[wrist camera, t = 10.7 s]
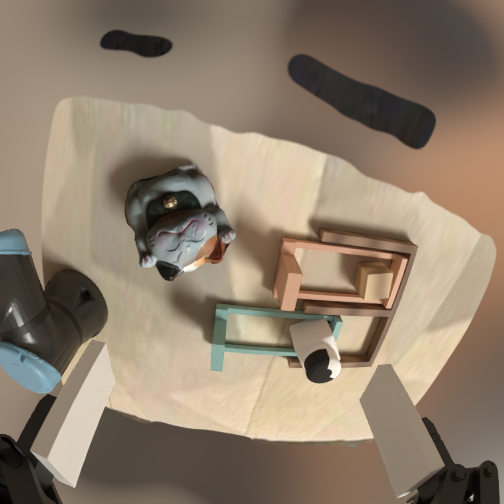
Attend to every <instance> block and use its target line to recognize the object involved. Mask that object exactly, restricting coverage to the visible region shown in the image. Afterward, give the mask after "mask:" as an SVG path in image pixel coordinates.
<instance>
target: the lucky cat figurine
mask: <svg viewBox="0 0 504 504" xmlns="http://www.w3.org/2000/svg"><path fill="white" fill-rule="evenodd" d="M125 217H126V221H127V224H128V225H129V226H130V227H131V228H132V229H133V231H134V232H135V241H136V246H137V249H138V252H139V256H140V262H139V264H140V266H141V267H142V268H144V267H147V268H149V267H155V266H157V269H158V271H159V273H160V274H161V276H162V277H163V278H164V279H165V280H167V281H173V280H174V278H175V277H177V276H179V275H180V274H181V273H183V272H189V271H194V270H195V269H196V268H197V267H199V266H200V265H202V264H204V263H206V262H209V263H212V264H217V263H219V262H221V261H222V260H223V255H224V254H225V251H226V249H227V247H228V246H229V244H230V243H231V241H233V239H234V238H235V237H236V232H235V231H234V230H233V229H232V228H231V226H230V224H229V221H228V220H227V218H226V215H225V213H224V211H223V210H222V209H220V208H219V205H218V203H217V201H216V198H215V192H214V188H213V186H212V184H211V183H210V181H209V180H208V179H207V177H206V176H204V175H201V174H198V173H197V170H196V165H194V164H191V165H181V166H178V167H176V168H175V169H173V170H172V171H170V172H168V173H166V174H163V175H159V176H155V177H151V178H147V179H141V180H139V181H136V182H134V183H133V184H132V185H131V187H130V188H129V190H128V193H127V197H126V202H125Z"/></svg>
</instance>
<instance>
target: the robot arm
mask: <svg viewBox="0 0 504 504" xmlns="http://www.w3.org/2000/svg"><path fill="white" fill-rule="evenodd" d="M31 255H32V254H31V252H30V251H29V248H28V245H27V242H26V239H25V236H24V234H23V233H22V232H21V231H20V230H18V229H10V230H6V231H3V232H0V365H1V367H2V368H3V369H4V370H5V371H6V373H7V374H8V375H9V376H10V377H11V378H13V379H14V380H15V381H16V382H18V383H19V384H20V385H22V386H23V387H25V388H27V389H29V390H31V391H34V392H37V393H48V392H50V391H51V390H52V389H53V388H54V386H55V385H56V383H57V382H58V381H60V380H61V377H62V375H63V374H64V372H65V370H66V369H67V367H68V365H69V364H70V362H71V360H72V359H73V357H74V355H75V354H76V352H77V351H78V349H79V347H80V346H81V344H83V343H85V342H86V341H88V340H89V339H90V338H92V337H95V336H96V335H97V334H99V333H100V331H101V330H102V329H103V327H104V326H105V324H106V321H107V317H108V310H107V305H106V302H105V299H104V297H103V295H102V293H101V292H100V290H99V289H98V288H97V286H96V285H95V284H94V283H93V282H92V281H91V280H90V279H89V278H87V277H86V276H84V275H83V274H81V273H79V272H76V271H73V270H63V271H60V272H58V273H57V274H55V275H54V276H53V277H52V278H51V279H50V280H49V281H48V283H47V285H46V287H45V290H44V291H43V288H42V285H41V283H40V280H39V278H38V275H37V272H36V269H35V266H34V263H33V259H32V256H31ZM114 384H115V380H114V376H113V372H112V368H111V364H110V360H109V355H108V351H107V346H106V343H104V342H99V341H95V340H91V342H90V343H89V345H88V347H87V348H86V350H85V351H84V353H83V354H82V356H81V358H80V359H79V361H78V363H77V364H76V366H75V368H74V369H73V371H72V373H71V374H70V376H69V378H68V379H67V381H66V383H65V384H64V386H63V388H62V390H61V391H60V394H59V395H58V397H55V396H52V395H50V394H47V395H46V396H45V397H43V398H42V399H41V400H40V401H39V403H38V404H37V406H36V408H35V411H33V413H32V415H31V418H29V420H28V422H27V424H26V426H25V428H24V429H23V431H22V433H21V435H20V437H19V439H18V441H17V442H15V441H14V440H13V439H12V438H11V437H10V436H8V435H6V434H0V504H63V503H62V501H61V499H60V497H59V495H58V493H57V490H56V488H55V485H54V483H53V482H52V479H53V476H55V477H56V478H57V479H58V480H59V481H60V482H63V483H65V484H67V485H70V486H72V487H74V488H75V486H76V483H77V479H78V477H79V474H80V471H81V468H82V465H83V462H84V459H85V457H86V454H87V451H88V448H89V446H90V443H91V440H92V437H93V435H94V432H95V430H96V427H97V425H98V422H99V419H100V417H101V415H102V412H103V410H104V407H105V405H106V403H107V400H108V398H109V395H110V393H111V391H112V388H113V386H114ZM360 403H361V405H362V408H363V410H364V413H365V415H366V418H367V420H368V423H369V425H370V428H371V431H372V433H373V436H374V438H375V441H376V443H377V446H378V449H379V452H380V454H381V457H382V460H383V462H384V465H385V468H386V471H387V474H388V476H389V479H390V482H391V485H392V488H393V491H394V494H395V496H396V498H399V497H402V496H405V495H408V494H410V493H412V492H413V491H414V490H415V489H417V490H418V493H416V494H415V495H413V496H412V497H411V498H409V499H408V500H407V503H409V502H410V501H412V500H413V499H414V500H413V502H412V503H411V504H500V500H499V480H498V470H497V467H496V465H495V463H493V462H492V461H484V462H483V463H482V464H481V465H480V466H479V467H474V468H465V467H464V466H462V465H460V464H455V463H454V462H453V461H452V459H451V457H450V455H449V453H448V451H447V449H446V447H445V445H444V443H443V441H442V440H441V437H440V435H439V434H438V433H437V430H436V428H435V426H434V424H433V423H432V422H431V421H430V420H429V419H428V418H427V417H425V418H421V417H420V416H419V414H418V412H417V410H416V408H415V406H414V404H413V403H412V401H411V399H410V397H409V395H408V394H407V392H406V390H405V388H404V386H403V385H402V383H401V381H400V379H399V378H398V376H397V374H396V373H395V371H394V369H393V367H392V366H391V364H385V365H378V367H377V369H376V371H375V373H374V375H373V377H372V378H371V380H370V382H369V384H368V386H367V388H366V389H365V391H364V393H363V395H362V396H361V398H360ZM473 495H474V498H473V501H471V500H470V497H472V496H473Z"/></svg>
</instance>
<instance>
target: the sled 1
mask: <svg viewBox="0 0 504 504" xmlns="http://www.w3.org/2000/svg"><path fill="white" fill-rule="evenodd" d="M227 313H234V314H244V315H255V316H267V317H280V318H294V319H311V320H319V319H322V318H326V320H330V323H329V326H330V329H331V331H332V333H333V336H334V339H335V342H336V340H337V337H338V334H339V332H340V329H341V326H342V323H343V321H342V319H341V317H340V315H325V314H308V313H304V311H295V310H294V311H285V310H281V309H270V308H258V307H248V306H237V305H228V304H219V303H217V306H216V316H215V325H214V332H213V340H212V351H211V367H210V370H212V371H222V367H223V358H224V351H225V352H236V353H248V354H262V355H279V356H297V354H296V352H295V349H290V348H271V347H256V346H244V345H232V344H225V335H226V321H227Z"/></svg>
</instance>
